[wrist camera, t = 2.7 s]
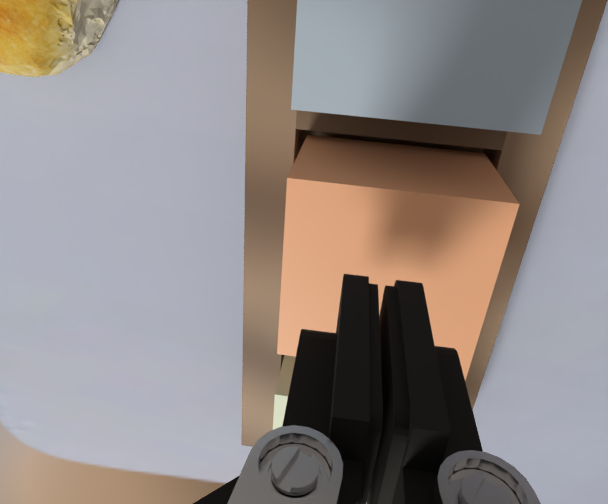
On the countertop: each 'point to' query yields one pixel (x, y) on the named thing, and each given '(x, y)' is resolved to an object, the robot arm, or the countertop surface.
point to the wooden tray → (298, 124)
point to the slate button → (433, 60)
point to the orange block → (393, 234)
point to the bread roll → (49, 33)
